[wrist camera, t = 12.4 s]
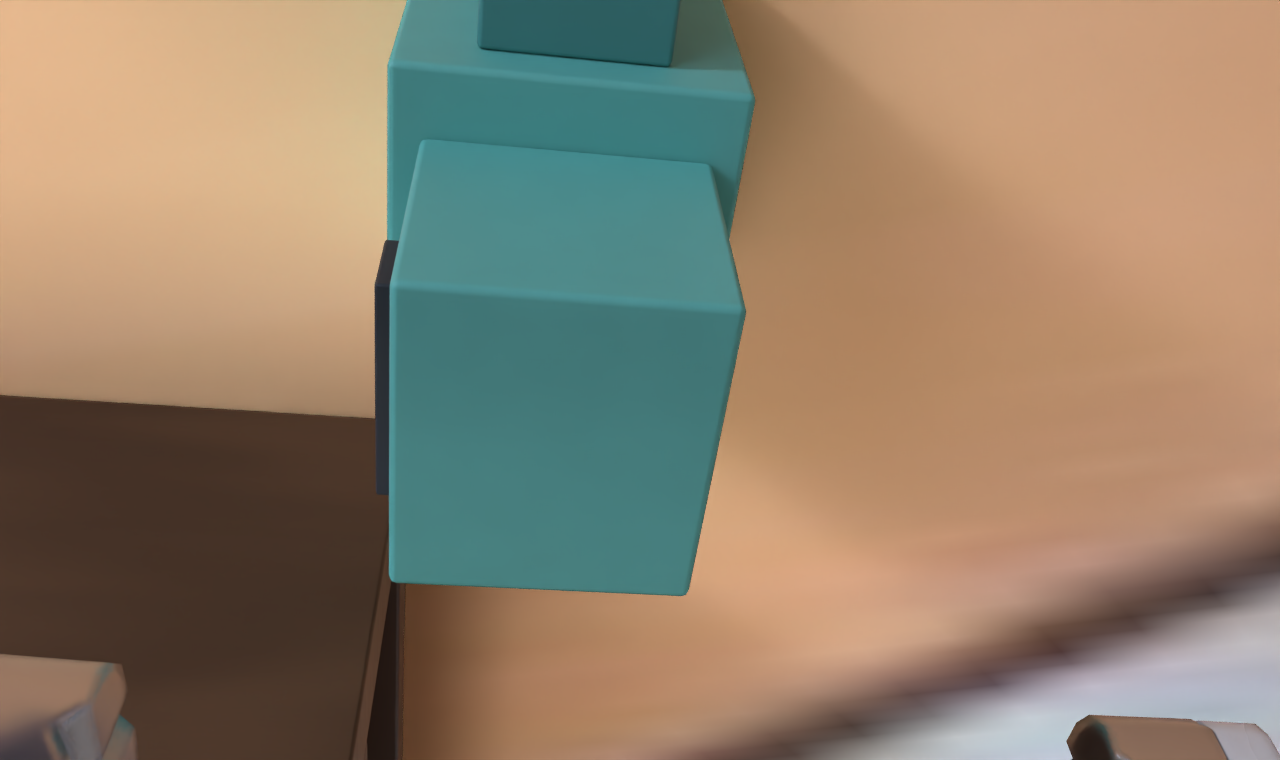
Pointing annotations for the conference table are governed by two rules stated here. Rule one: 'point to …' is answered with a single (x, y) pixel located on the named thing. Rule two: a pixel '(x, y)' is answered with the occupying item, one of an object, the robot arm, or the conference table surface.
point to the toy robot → (557, 289)
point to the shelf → (208, 573)
